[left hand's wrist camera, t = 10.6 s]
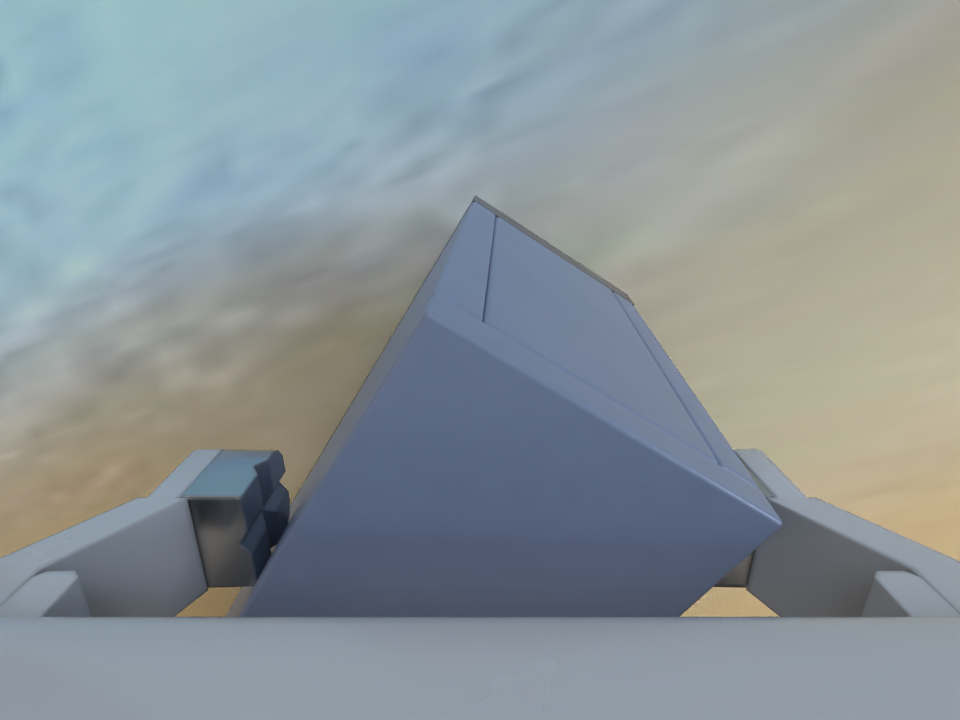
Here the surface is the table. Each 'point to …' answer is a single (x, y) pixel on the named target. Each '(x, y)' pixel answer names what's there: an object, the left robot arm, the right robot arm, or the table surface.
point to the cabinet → (515, 459)
